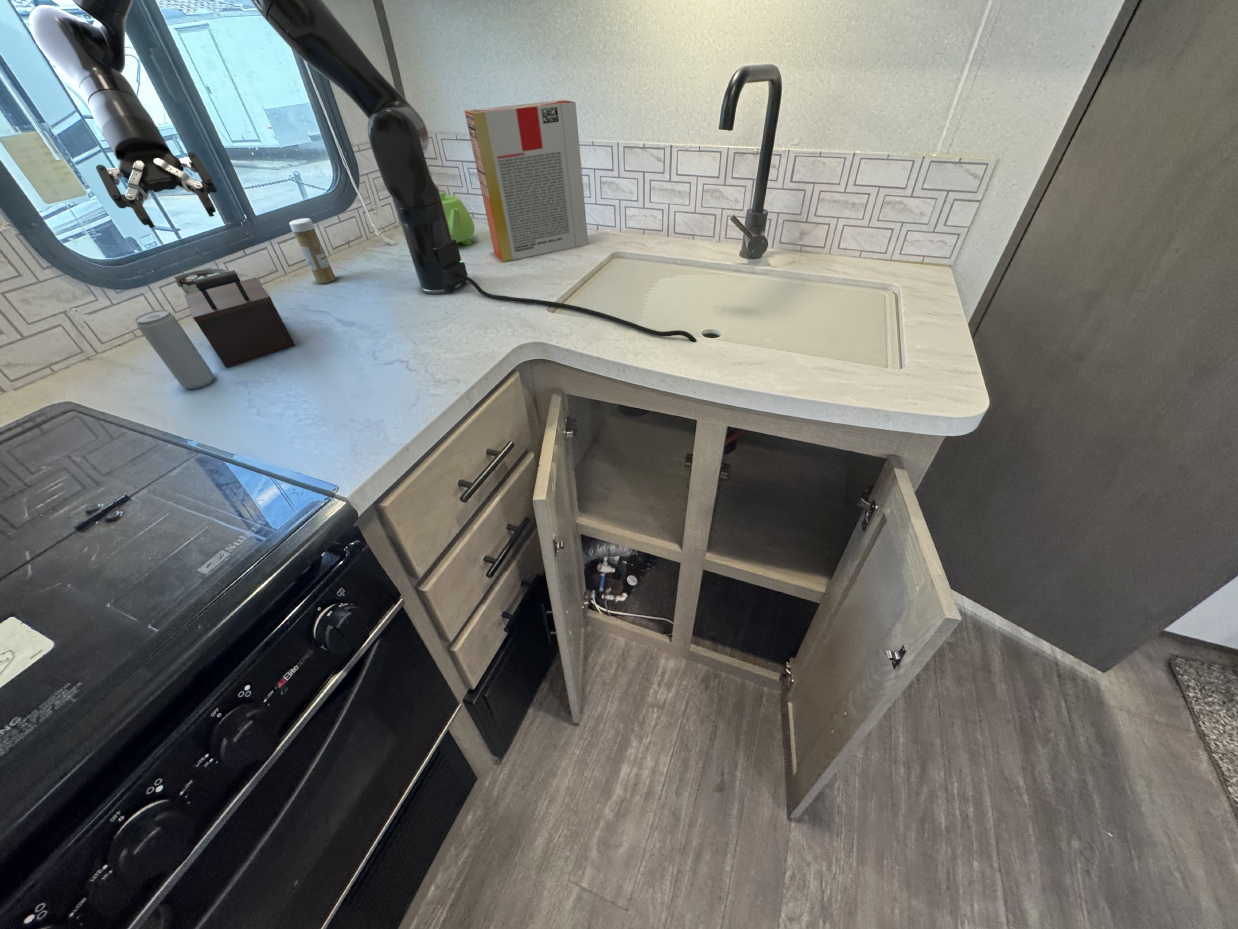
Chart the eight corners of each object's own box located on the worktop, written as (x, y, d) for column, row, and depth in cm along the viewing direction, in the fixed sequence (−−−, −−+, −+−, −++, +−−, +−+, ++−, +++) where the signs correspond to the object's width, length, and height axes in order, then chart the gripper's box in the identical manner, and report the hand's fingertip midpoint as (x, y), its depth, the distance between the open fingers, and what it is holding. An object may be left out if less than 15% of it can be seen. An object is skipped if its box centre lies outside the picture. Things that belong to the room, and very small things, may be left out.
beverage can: (193, 376, 86) (146, 310, 78) (221, 374, 86) (177, 307, 78) (177, 391, 82) (125, 323, 74) (206, 389, 82) (158, 321, 74)
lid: (272, 300, 87) (255, 268, 83) (195, 322, 81) (173, 288, 78) (257, 281, 95) (241, 251, 91) (187, 299, 89) (166, 268, 86)
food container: (272, 317, 103) (245, 269, 97) (246, 330, 99) (217, 281, 92) (229, 312, 107) (201, 265, 100) (203, 325, 102) (172, 276, 96)
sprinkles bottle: (338, 280, 118) (312, 220, 109) (317, 285, 116) (289, 224, 107) (334, 275, 121) (309, 216, 112) (314, 280, 119) (287, 220, 110)
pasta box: (576, 236, 134) (562, 99, 115) (588, 244, 129) (575, 101, 109) (494, 252, 127) (464, 110, 108) (502, 261, 122) (472, 113, 102)
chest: (295, 345, 93) (271, 299, 87) (225, 367, 88) (195, 320, 82) (280, 324, 100) (257, 281, 95) (215, 344, 95) (187, 299, 89)
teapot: (489, 246, 132) (477, 194, 123) (439, 258, 127) (424, 204, 118) (463, 230, 145) (451, 181, 137) (418, 240, 140) (403, 190, 131)
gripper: (63, 119, 76) (118, 213, 76) (172, 108, 82) (223, 195, 83) (89, 156, 82) (140, 242, 83) (189, 143, 89) (235, 223, 89)
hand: (181, 218), depth 83 cm, fingers open, 8 cm apart
